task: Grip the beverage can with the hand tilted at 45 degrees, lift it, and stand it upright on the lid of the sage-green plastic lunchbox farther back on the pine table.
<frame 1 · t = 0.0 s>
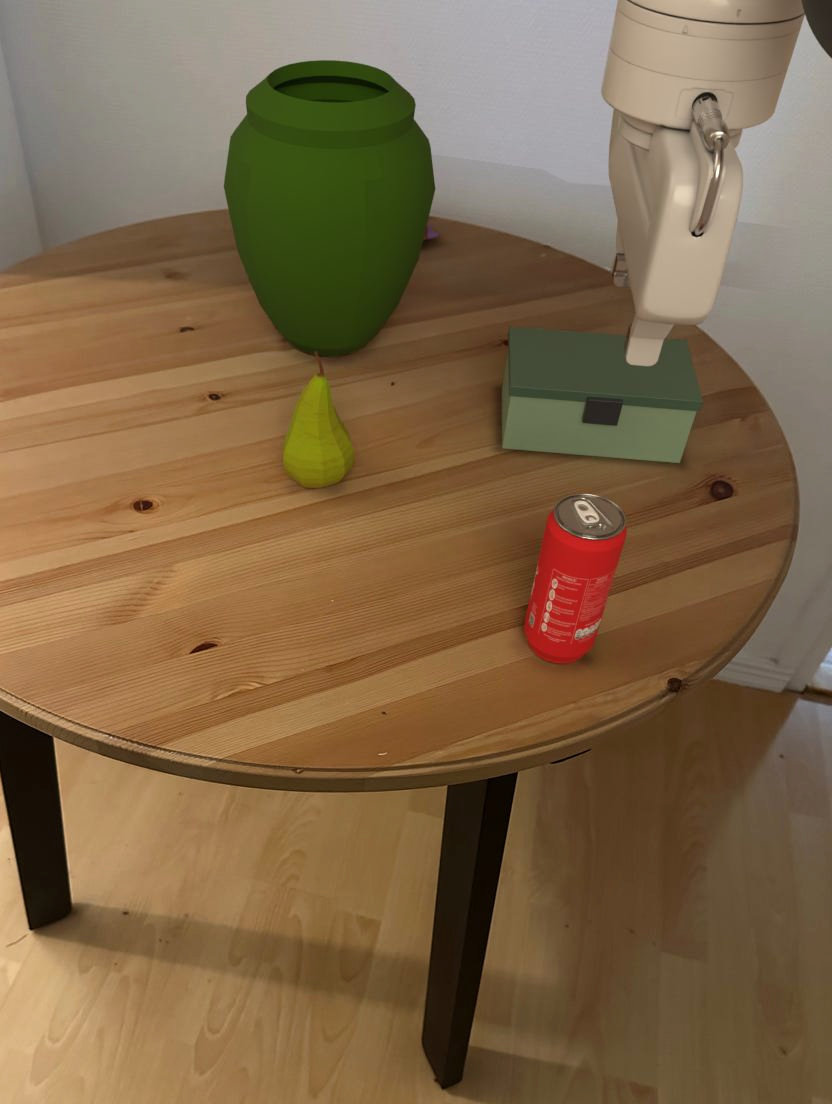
hand: (631, 318, 60), 23 cm above the table, tool pointing down, fingers open, 8 cm apart
vase: (327, 340, 102), on the table
lunchbox: (587, 424, 93), on the table
beverage can: (556, 644, 73), on the table
snack package: (394, 231, 121), on the table
fruit: (317, 482, 86), on the table
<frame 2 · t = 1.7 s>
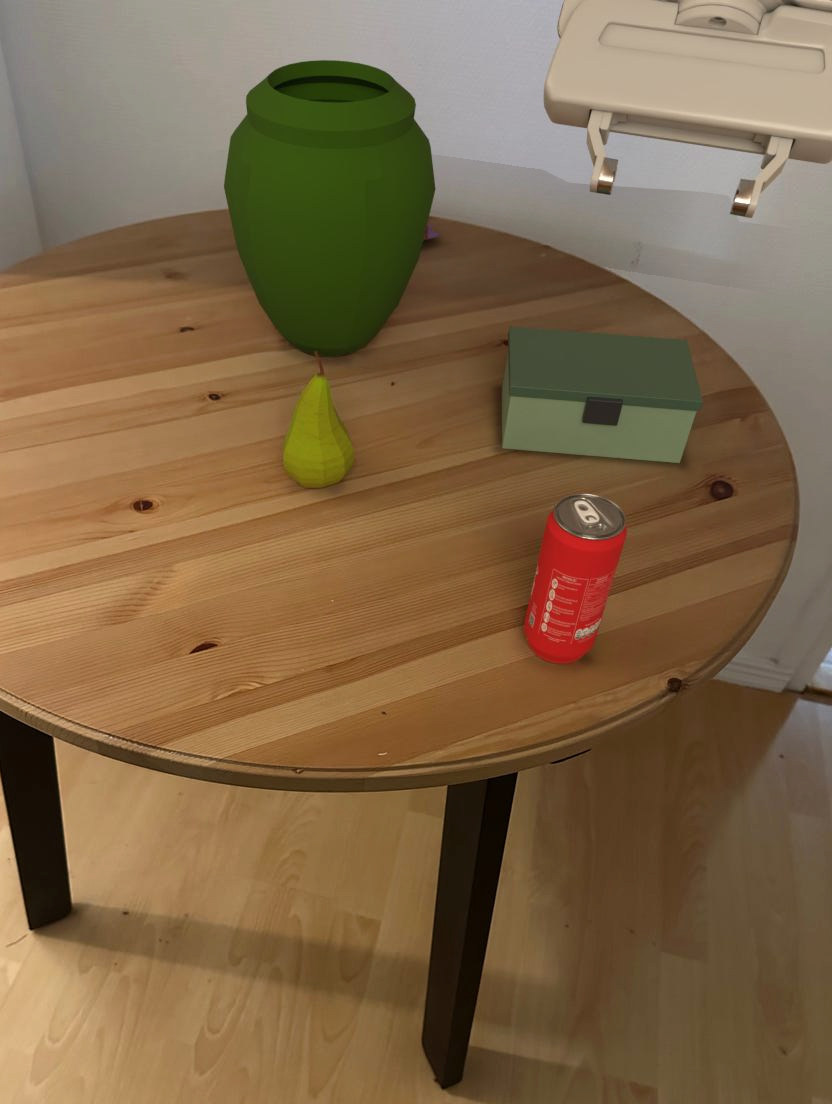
hand: (670, 201, 66), 26 cm above the table, tool tilted 45°, fingers open, 8 cm apart
nothing on the table moved.
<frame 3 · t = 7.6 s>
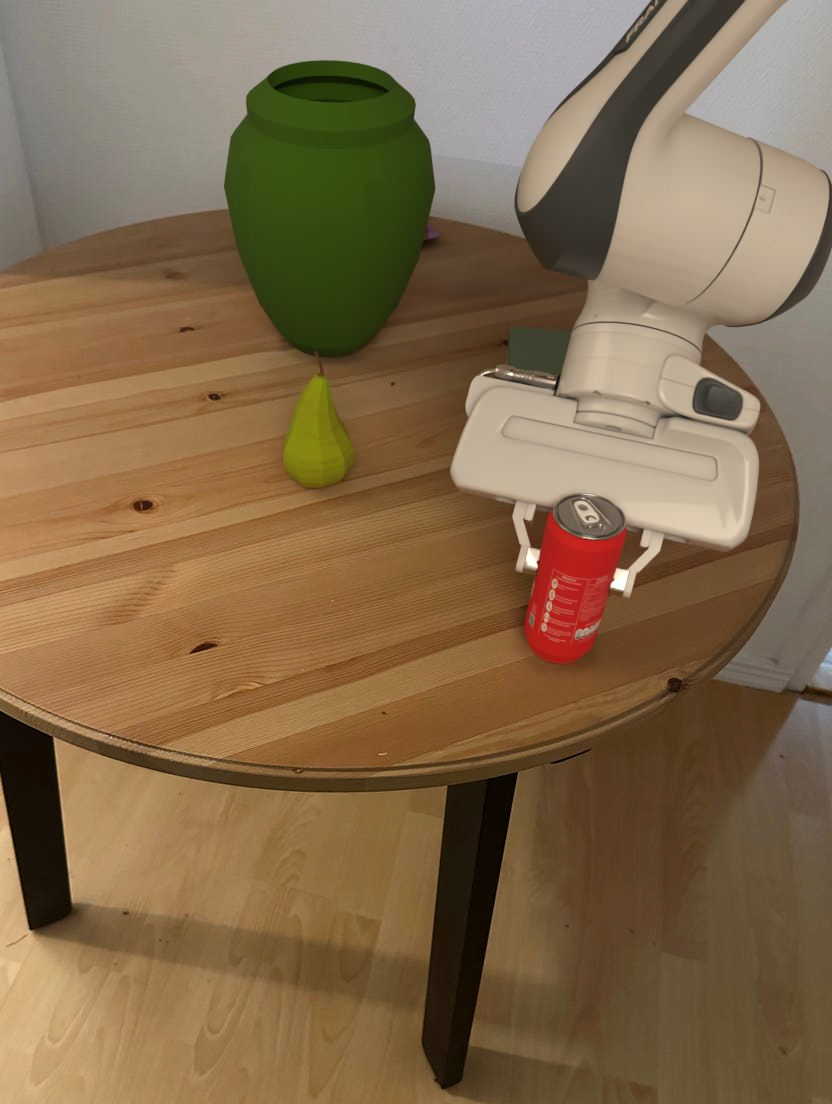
hand: (572, 584, 68), 6 cm above the table, tool tilted 45°, fingers closed on beverage can, 5 cm apart
beverage can: (556, 644, 73), on the table, touching gripper
everything else where it was.
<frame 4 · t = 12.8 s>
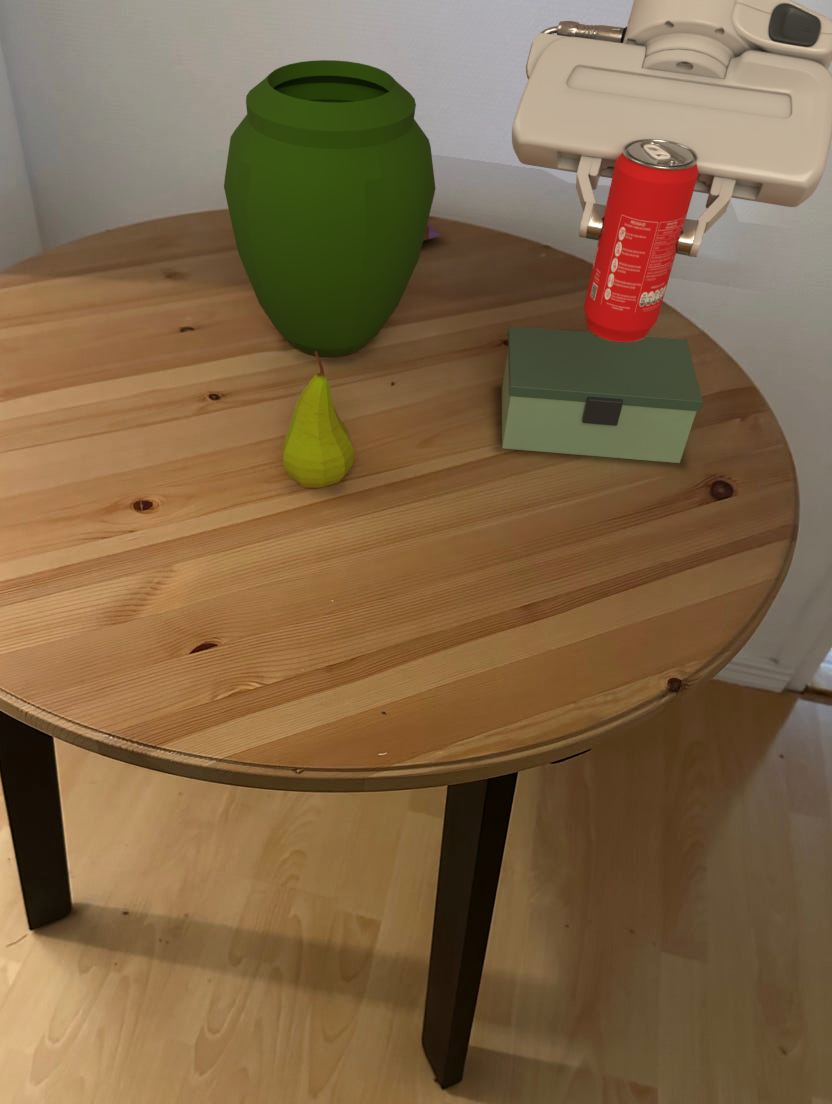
hand: (638, 244, 66), 24 cm above the table, tool tilted 45°, fingers closed on beverage can, 5 cm apart
beverage can: (616, 329, 71), point 17 cm above the table, touching gripper
everything else where it was.
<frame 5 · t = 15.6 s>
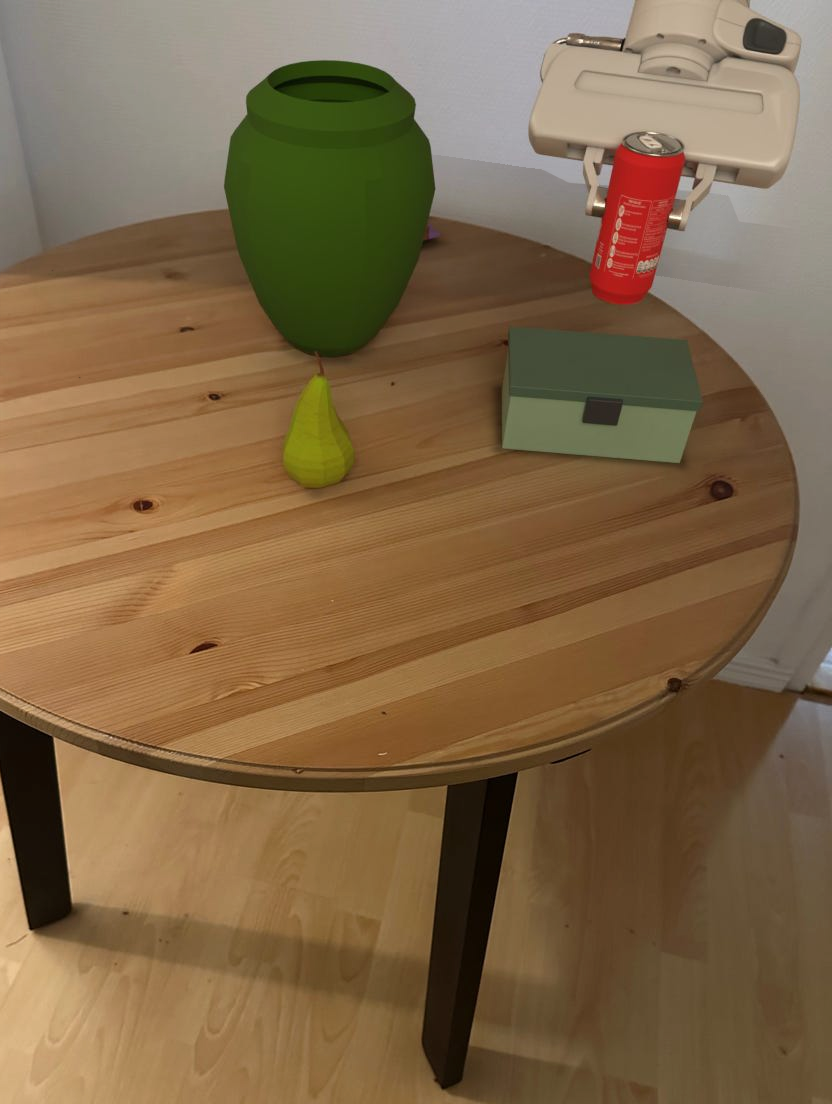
hand: (635, 220, 78), 19 cm above the table, tool tilted 45°, fingers closed on beverage can, 5 cm apart
beverage can: (617, 294, 83), point 13 cm above the table, touching gripper
everything else where it was.
when the fingers open (13 cm above the table, at t = 18.0 s): beverage can stays where it is, resting on lunchbox.
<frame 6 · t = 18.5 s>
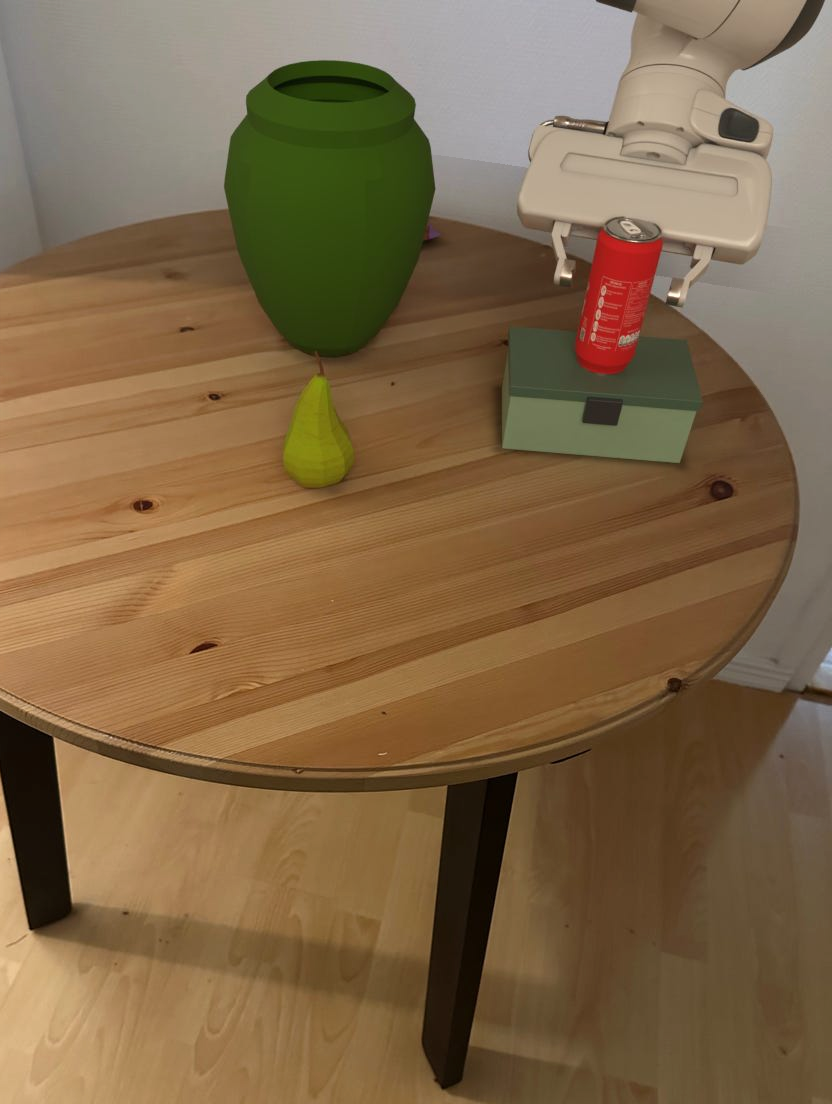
hand: (617, 293, 83), 13 cm above the table, tool tilted 45°, fingers open, 8 cm apart
beverage can: (601, 363, 88), point 6 cm above the table, touching lunchbox
everything else where it was.
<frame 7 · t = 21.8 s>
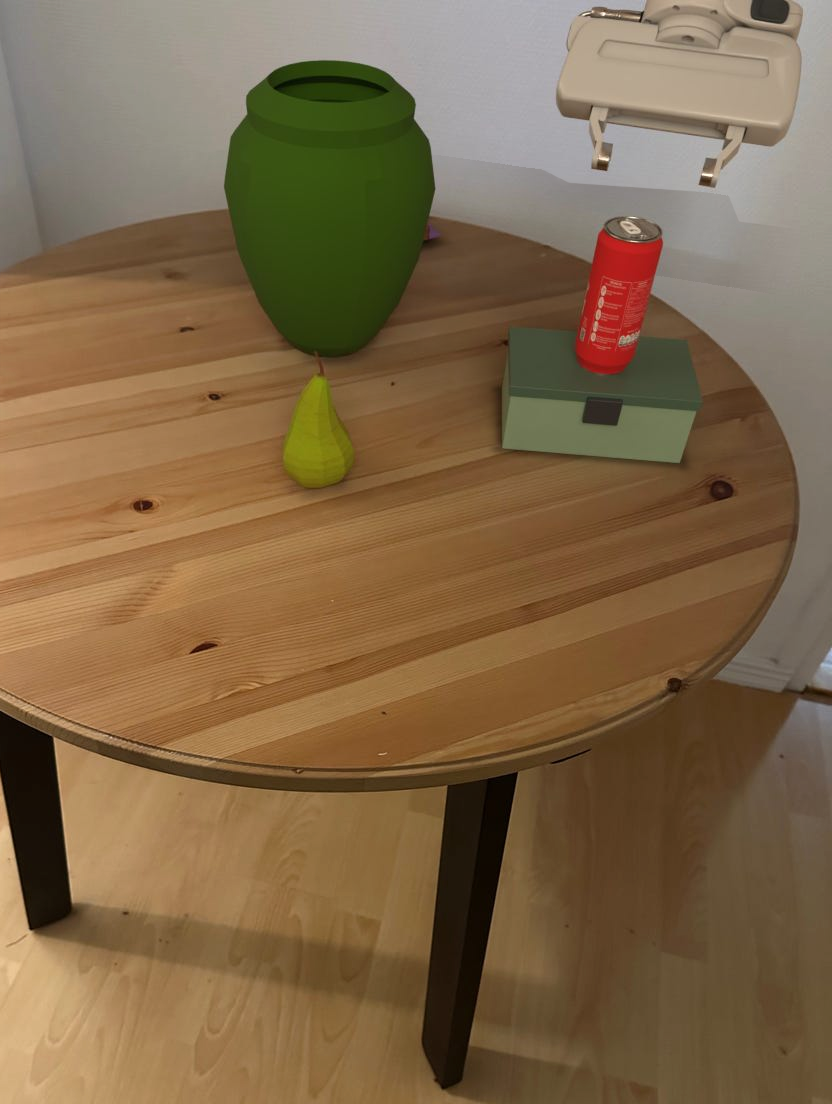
hand: (652, 175, 87), 19 cm above the table, tool tilted 45°, fingers open, 8 cm apart
nothing on the table moved.
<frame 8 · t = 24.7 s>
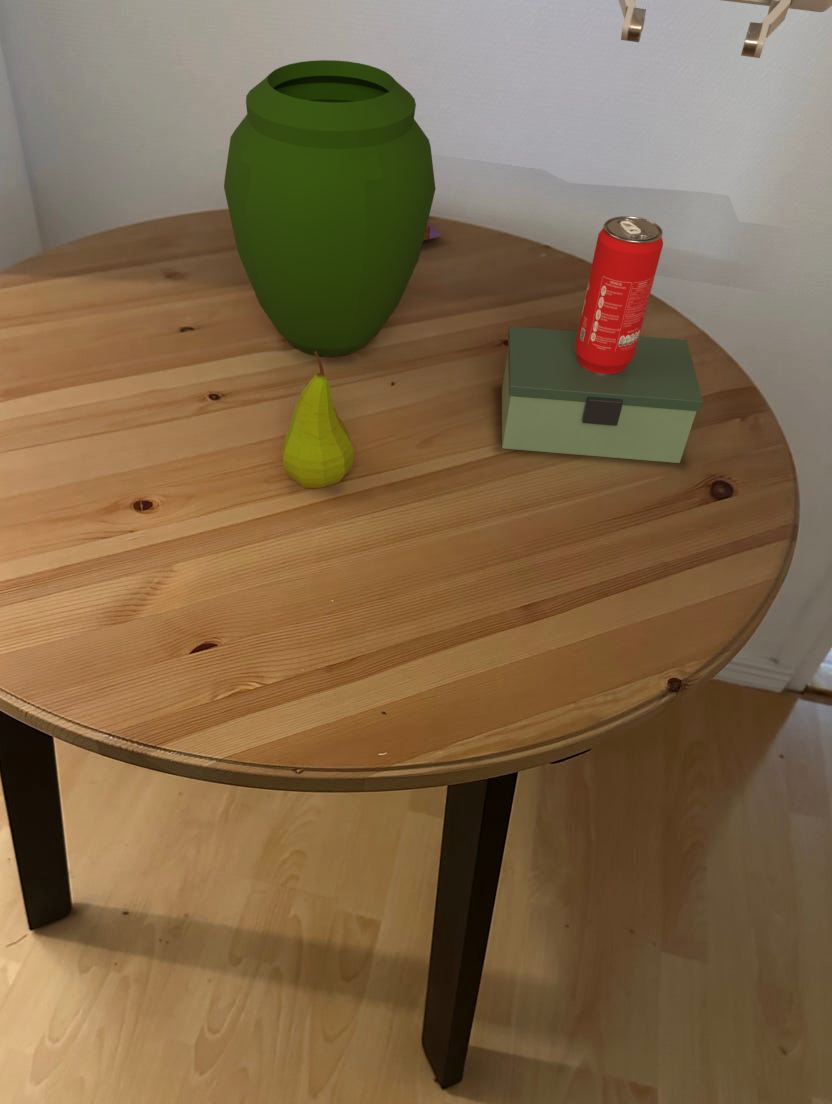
hand: (690, 45, 78), 29 cm above the table, tool tilted 45°, fingers open, 8 cm apart
nothing on the table moved.
at the end: beverage can inside the target area on the lunchbox (0.0 cm from its centre), point 6.4 cm above the lunchbox's base; beverage can tilted 0°; the gripper is holding nothing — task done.
